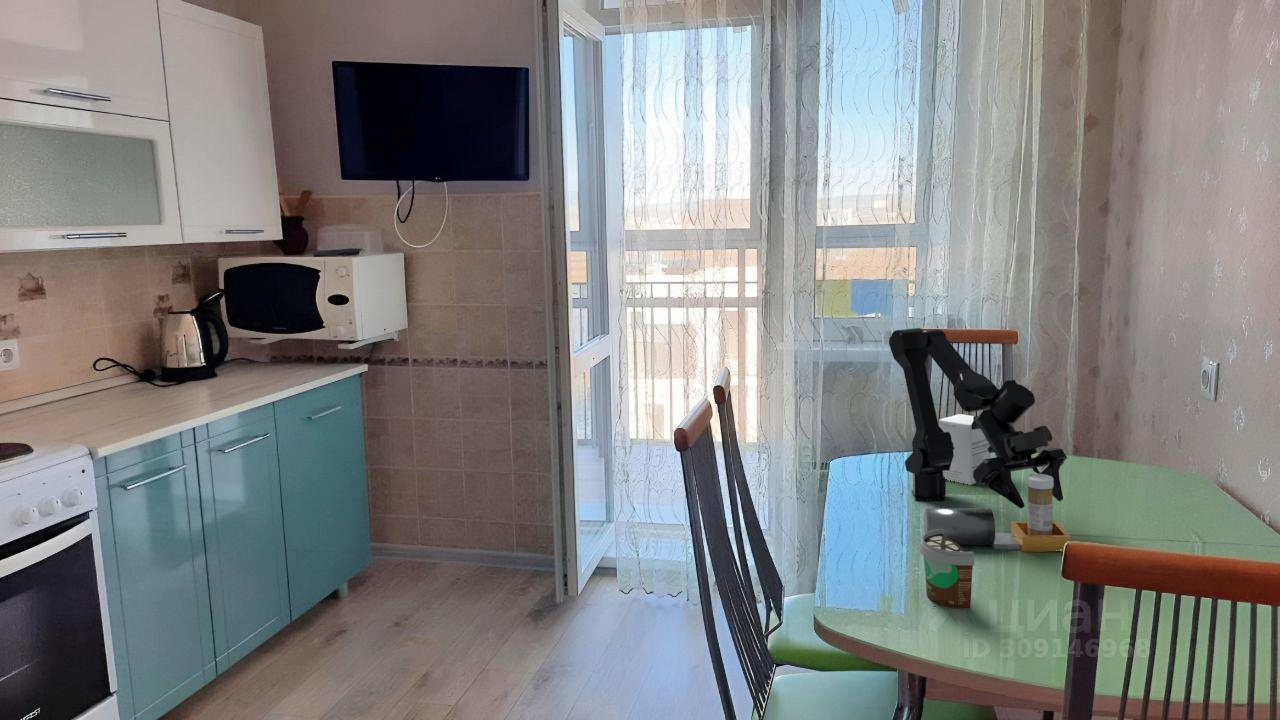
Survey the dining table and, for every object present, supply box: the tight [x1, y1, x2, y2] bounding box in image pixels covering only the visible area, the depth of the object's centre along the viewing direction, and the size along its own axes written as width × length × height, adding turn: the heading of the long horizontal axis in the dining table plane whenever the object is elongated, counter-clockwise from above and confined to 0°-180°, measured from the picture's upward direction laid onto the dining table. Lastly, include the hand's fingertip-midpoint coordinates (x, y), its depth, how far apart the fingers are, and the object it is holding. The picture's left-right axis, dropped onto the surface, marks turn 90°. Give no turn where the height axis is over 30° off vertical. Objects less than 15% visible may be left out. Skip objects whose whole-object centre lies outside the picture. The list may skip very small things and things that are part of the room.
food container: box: [918, 529, 975, 610], centre depth 145 cm, size 12×6×10 cm, turn 5°
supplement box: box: [938, 413, 992, 486], centre depth 211 cm, size 9×9×15 cm
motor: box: [923, 507, 1072, 553], centre depth 168 cm, size 25×9×7 cm, turn 81°
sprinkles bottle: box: [1026, 473, 1054, 535], centre depth 167 cm, size 5×5×14 cm
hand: (1042, 503), depth 166 cm, fingers open, 9 cm apart
